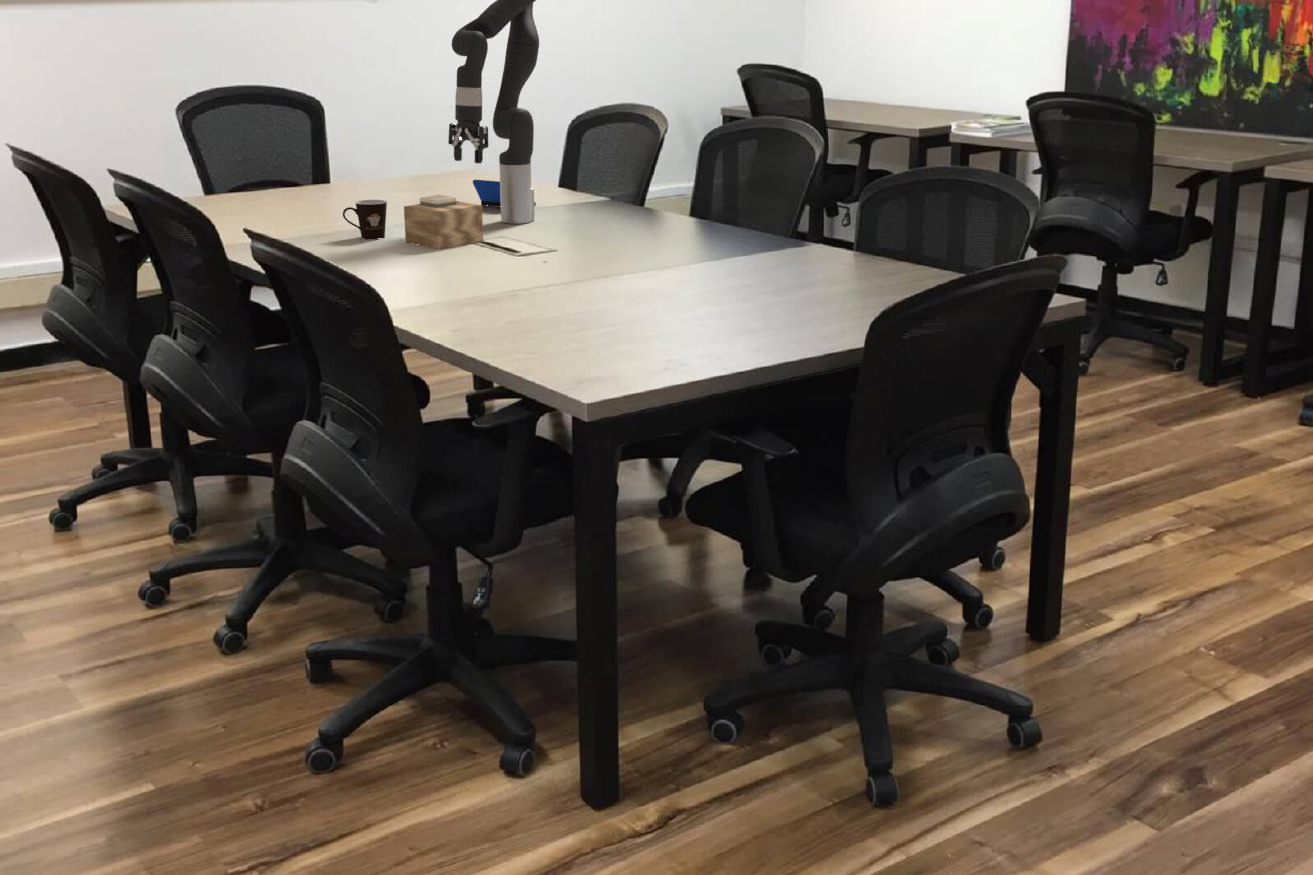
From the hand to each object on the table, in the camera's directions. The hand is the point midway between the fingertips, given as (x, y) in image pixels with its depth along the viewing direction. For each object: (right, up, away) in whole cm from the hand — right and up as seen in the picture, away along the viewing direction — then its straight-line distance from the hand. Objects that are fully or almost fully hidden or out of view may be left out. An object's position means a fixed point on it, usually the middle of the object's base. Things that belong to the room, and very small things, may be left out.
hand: (468, 161), depth 424 cm
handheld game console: (+6, -6, +45) cm, 46 cm away
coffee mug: (-27, -23, -6) cm, 36 cm away
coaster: (-6, -14, -14) cm, 21 cm away
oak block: (-5, -24, -13) cm, 28 cm away
